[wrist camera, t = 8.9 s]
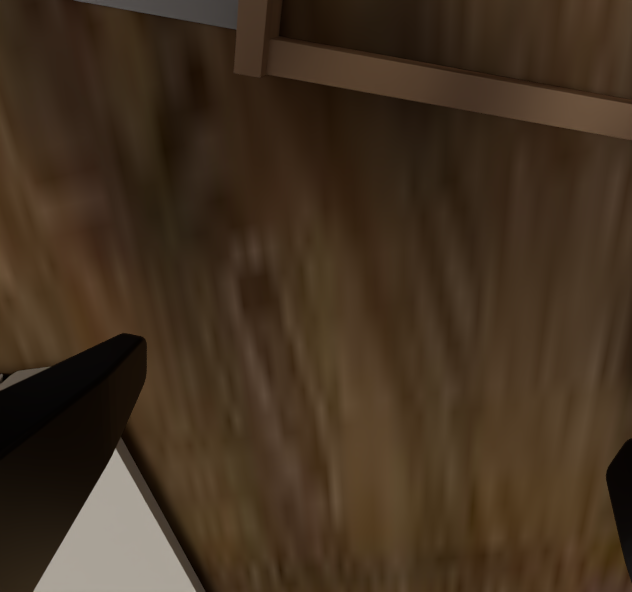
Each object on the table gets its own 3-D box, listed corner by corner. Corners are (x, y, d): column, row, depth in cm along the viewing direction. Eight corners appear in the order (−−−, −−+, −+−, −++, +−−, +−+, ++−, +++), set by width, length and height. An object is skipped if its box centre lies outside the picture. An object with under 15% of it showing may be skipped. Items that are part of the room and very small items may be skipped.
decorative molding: (99, 331, 27) (-84, 382, 27) (78, 383, 23) (-140, 444, 22) (260, 650, 43) (148, 686, 43) (265, 715, 39) (141, 756, 39)
